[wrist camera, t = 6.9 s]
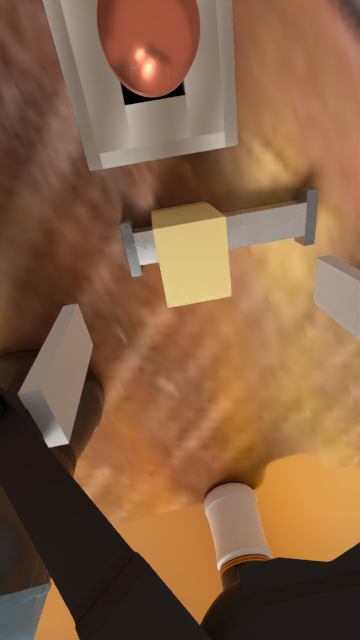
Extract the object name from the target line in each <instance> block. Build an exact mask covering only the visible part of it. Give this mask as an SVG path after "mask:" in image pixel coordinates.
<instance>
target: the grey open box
mask: <svg viewBox="0 0 360 640" xmlns="http://www.w3.org/2000/svg"><path fill="white" fill-rule="evenodd" d="M196 1H197V5H198V9H199V16H200V39H199V45H198V49H197V53H196V56H195V59H194V62H193V64H192V66H191V68H190V70H189V72H188V74H187V76H186V77H185V79H184V80H183V81H182V84H183V93H184V95H183V96H177V97H171V98H165V99H160V100H154V101H148V102H142V103H137V104H131V105H125V103H124V98H123V93H122V88H121V83H120V81H119V80H118V78H117V77H116V76H115V74H114V73H113V71H112V70H111V68H110V66H109V64H108V61H107V59H106V57H105V54H104V51H103V49H102V46H101V43H100V39H99V34H98V28H97V4H98V0H43V4H44V7H45V11H46V15H47V18H48V22H49V25H50V29H51V33H52V36H53V40H54V44H55V47H56V51H57V54H58V58H59V62H60V65H61V69H62V72H63V76H64V80H65V83H66V87H67V91H68V94H69V98H70V101H71V105H72V109H73V112H74V116H75V120H76V123H77V127H78V130H79V134H80V138H81V141H82V145H83V149H84V152H85V156H86V159H87V163H88V167H89V170H90V171H94V170H100V169H106V168H111V167H117V166H123V165H128V164H134V163H140V162H145V161H151V160H157V159H162V158H168V157H174V156H179V155H185V154H191V153H196V152H202V151H208V150H213V149H219V148H224V147H230V146H236V145H238V125H237V102H236V79H235V56H234V33H233V10H232V0H196Z"/></svg>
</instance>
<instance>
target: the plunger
mask: <svg viewBox="0 0 360 640" xmlns="http://www.w3.org/2000/svg"><path fill="white" fill-rule="evenodd" d="M97 28H98V34H99V39H100V43H101V46H102V49H103V51H104V54H105V57H106V59H107V61H108V64H109V66H110V68H111V70H112V71H113V73H114V74H115V76H116V77H117V78H118V80H119V81H120V82H121V83H122V84H123V85H124V86H125V87H126V88H128V89H129V90H130V91H132V92H134V93H136V94H138V95H141V96H145V97H160V96H164V95H166V94H168V93H170V92H172V91H173V90H174V89H176V88H177V87H178V86H179V85H180V84H181V83H182V81H183V80H184V79H185V77H186V76H187V74H188V72H189V70H190V68H191V66H192V64H193V62H194V59H195V56H196V53H197V49H198V45H199V39H200V16H199V9H198V5H197V1H196V0H98V4H97Z"/></svg>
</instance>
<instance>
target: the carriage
mask: <svg viewBox="0 0 360 640" xmlns="http://www.w3.org/2000/svg"><path fill="white" fill-rule="evenodd" d="M151 215H152V228H153V234H154V239H155V244H156V249H157V254H158V260H159V265H160V270H161V275H162V280H163V285H164V290H165V295H166V300H167V305H168V308H170V307H175V306H181V305H186V304H192V303H197V302H203V301H208V300H213V299H219V298H224V297H230V296H231V284H230V269H229V255H228V241H227V226H226V216H225V215H223V214H222V213H221V212H219V211H218V210H217V209H215V208H214V207H213V206H211V205H210V204H209V203H206V202H205V201H202V202H197V203H191V204H186V205H180V206H174V207H169V208H163V209H158V210H152V211H151Z"/></svg>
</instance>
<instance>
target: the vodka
mask: <svg viewBox="0 0 360 640" xmlns="http://www.w3.org/2000/svg"><path fill="white" fill-rule="evenodd" d="M204 507H205V512H206V516H207V518H208V520H209V523H210V527H211V531H212V535H213V540H214V544H215V548H216V555H217V567H218V570H219V571H220V576H221V582H222V587H223V591H224V590H225V589H226V588H227V587H228V586H230V585H231V584H233V583H234V582H236V581H237V580H238V575H237V567H238V566H243V565H247V564H252V563H256V562H261V561H265V560H270V559H272V554H271V552H270V551H269V548H268V545H267V542H266V539H265V535H264V532H263V528H262V524H261V519H260V515H259V510H258V501H257V498H256V495H255V492H254V491H253V490H252V489H251V488H250V487H249V486H247V485H245V484H241V483H226V484H223V485H220V486H218V487H216V488H214V489H213V490H212V491H210V492H209V493H208V495H207V496H206V498H205V503H204Z"/></svg>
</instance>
